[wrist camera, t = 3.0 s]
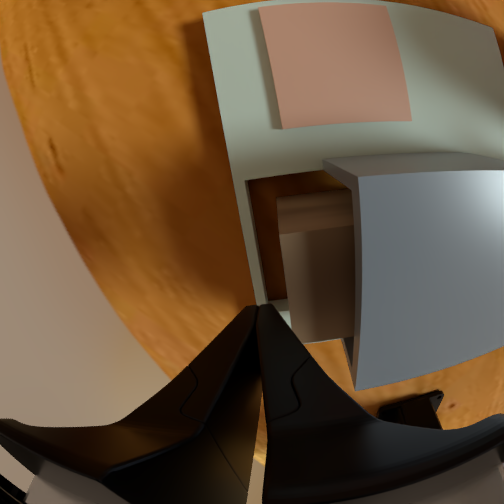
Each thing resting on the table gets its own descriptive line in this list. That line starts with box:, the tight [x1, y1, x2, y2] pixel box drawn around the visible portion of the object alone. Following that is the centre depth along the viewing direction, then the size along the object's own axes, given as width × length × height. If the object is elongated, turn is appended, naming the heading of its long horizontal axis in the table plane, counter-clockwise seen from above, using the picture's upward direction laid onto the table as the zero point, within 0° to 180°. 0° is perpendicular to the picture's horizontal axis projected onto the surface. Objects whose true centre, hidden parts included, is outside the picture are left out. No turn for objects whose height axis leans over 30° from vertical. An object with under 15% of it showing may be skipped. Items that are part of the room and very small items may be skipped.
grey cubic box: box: [322, 152, 504, 391], centre depth 10 cm, size 8×8×5 cm
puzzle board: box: [202, 0, 504, 344], centre depth 12 cm, size 18×16×2 cm
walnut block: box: [276, 189, 355, 344], centre depth 12 cm, size 4×4×6 cm
